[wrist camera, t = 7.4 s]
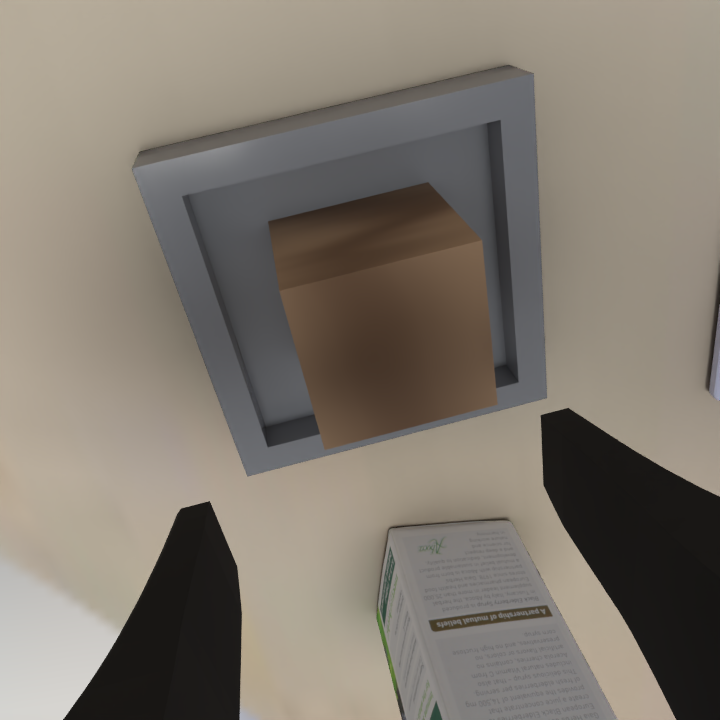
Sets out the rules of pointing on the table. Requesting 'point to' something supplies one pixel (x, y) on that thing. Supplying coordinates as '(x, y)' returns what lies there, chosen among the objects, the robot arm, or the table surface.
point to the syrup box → (478, 630)
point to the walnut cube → (386, 312)
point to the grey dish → (331, 187)
